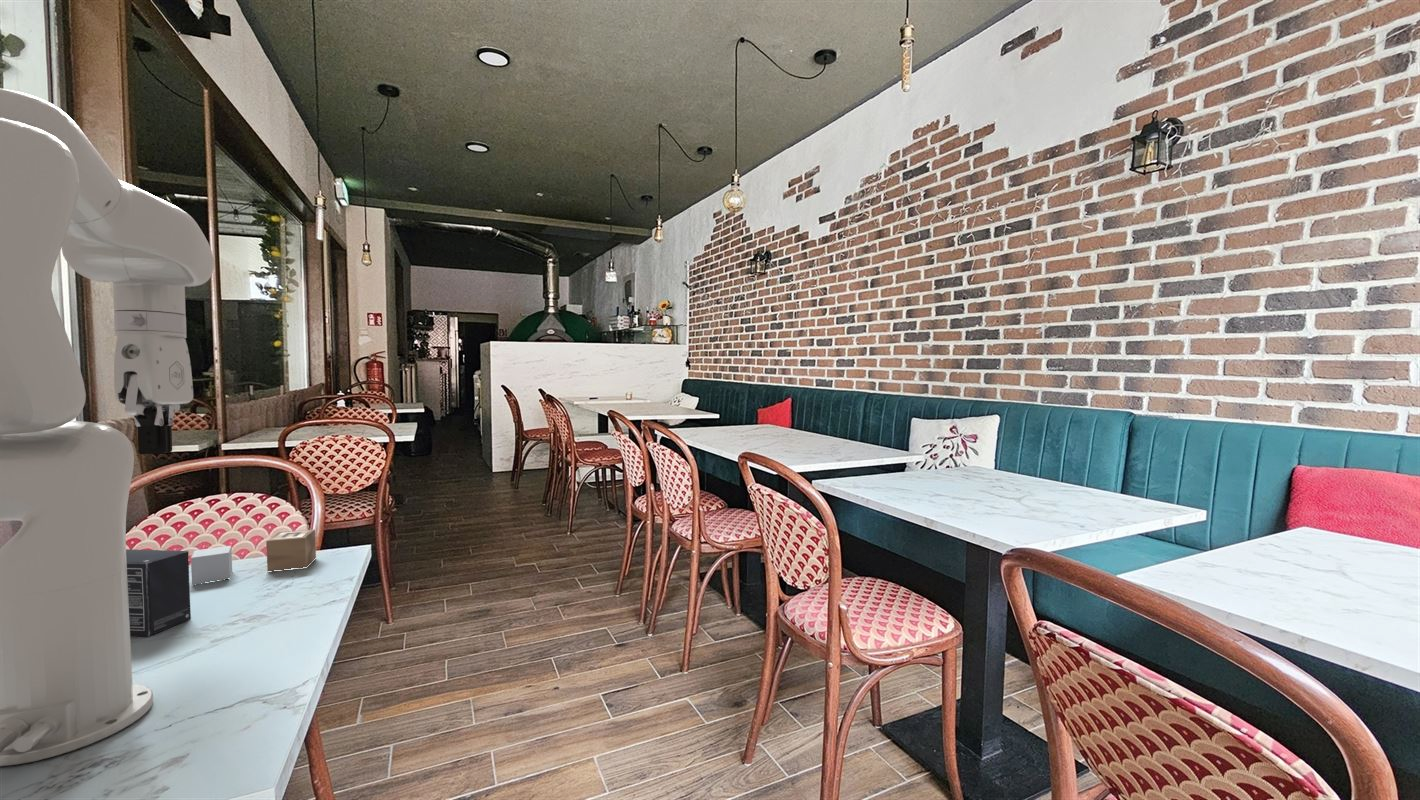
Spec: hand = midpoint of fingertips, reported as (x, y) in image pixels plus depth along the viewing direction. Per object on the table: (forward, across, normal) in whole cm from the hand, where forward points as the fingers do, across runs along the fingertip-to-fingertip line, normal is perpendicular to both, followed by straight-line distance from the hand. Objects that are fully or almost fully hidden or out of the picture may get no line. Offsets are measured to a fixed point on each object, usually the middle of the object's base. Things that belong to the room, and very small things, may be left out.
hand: (155, 453), depth 84 cm
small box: (+25, 0, +2) cm, 25 cm away
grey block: (+24, +20, +2) cm, 31 cm away
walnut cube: (+18, +23, -9) cm, 31 cm away
